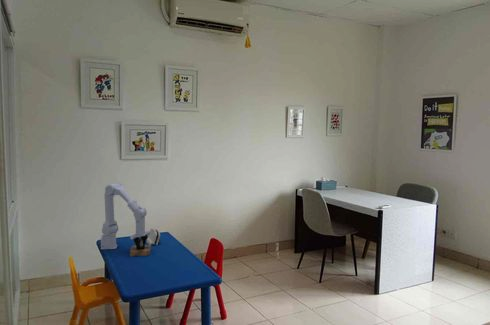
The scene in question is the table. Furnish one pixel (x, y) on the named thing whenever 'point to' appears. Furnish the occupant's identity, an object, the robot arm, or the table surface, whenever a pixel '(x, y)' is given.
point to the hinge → (153, 237)
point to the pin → (141, 244)
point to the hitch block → (140, 251)
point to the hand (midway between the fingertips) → (140, 247)
